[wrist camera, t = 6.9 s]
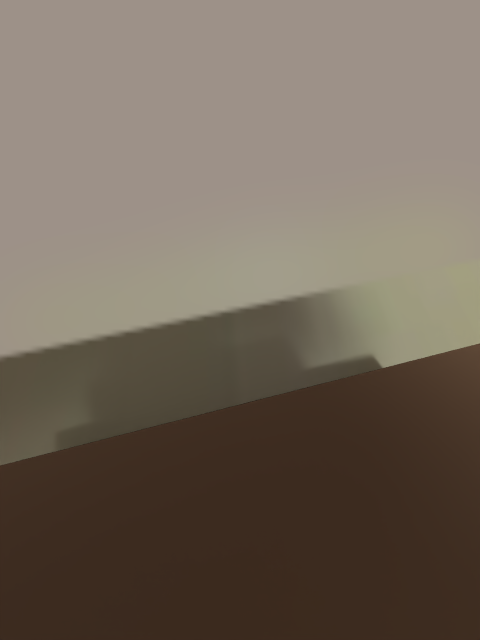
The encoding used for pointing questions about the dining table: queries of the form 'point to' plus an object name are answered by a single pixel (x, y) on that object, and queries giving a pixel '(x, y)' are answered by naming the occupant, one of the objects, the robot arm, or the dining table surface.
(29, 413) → the dining table surface
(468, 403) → the brown wooden block
